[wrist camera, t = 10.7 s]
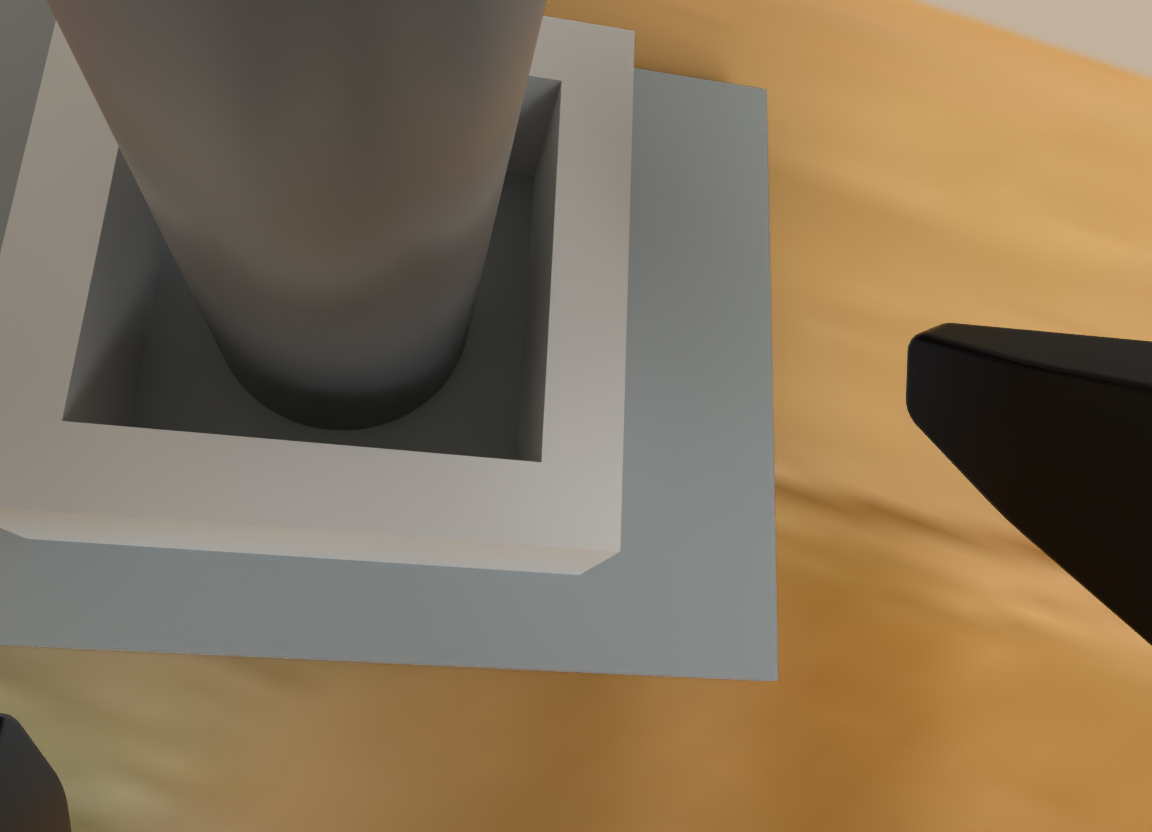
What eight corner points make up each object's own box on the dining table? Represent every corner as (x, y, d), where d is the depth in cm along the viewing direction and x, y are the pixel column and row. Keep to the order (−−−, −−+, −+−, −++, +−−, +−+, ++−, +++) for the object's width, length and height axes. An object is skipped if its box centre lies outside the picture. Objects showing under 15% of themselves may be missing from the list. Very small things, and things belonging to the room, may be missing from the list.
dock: (756, 680, 17) (860, 679, 13) (-223, 635, 14) (-438, 616, 11) (748, 116, 21) (831, -11, 17) (-44, -8, 18) (-160, -193, 14)
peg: (346, 490, 16) (213, -189, 3) (148, 310, 16) (-648, -944, 4) (526, 310, 17) (871, -605, 5) (342, 147, 17) (241, -1122, 5)
